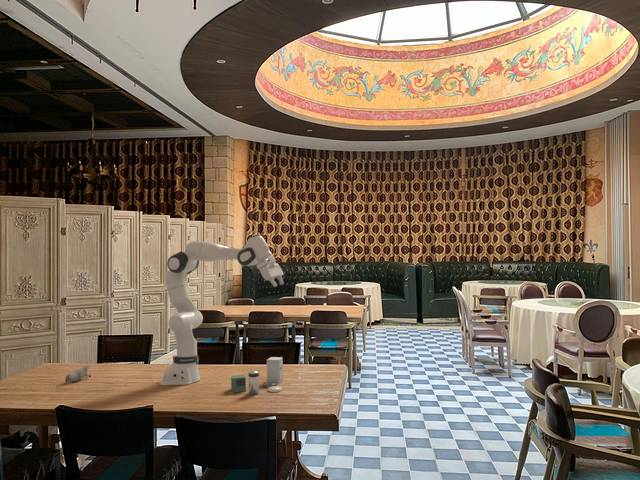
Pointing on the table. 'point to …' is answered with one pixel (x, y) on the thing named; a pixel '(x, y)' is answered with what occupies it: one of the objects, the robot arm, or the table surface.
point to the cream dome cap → (275, 389)
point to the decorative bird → (77, 374)
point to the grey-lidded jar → (253, 382)
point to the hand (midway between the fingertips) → (279, 285)
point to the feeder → (238, 383)
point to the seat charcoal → (270, 384)
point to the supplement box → (275, 369)
